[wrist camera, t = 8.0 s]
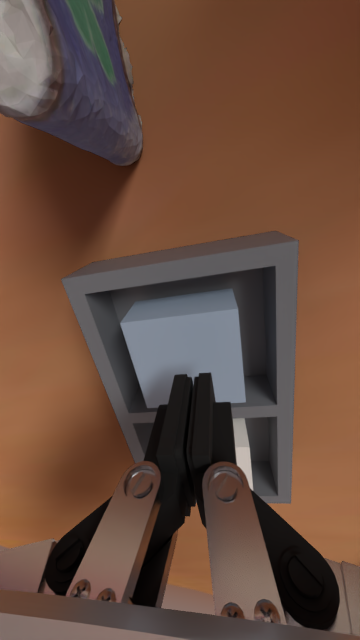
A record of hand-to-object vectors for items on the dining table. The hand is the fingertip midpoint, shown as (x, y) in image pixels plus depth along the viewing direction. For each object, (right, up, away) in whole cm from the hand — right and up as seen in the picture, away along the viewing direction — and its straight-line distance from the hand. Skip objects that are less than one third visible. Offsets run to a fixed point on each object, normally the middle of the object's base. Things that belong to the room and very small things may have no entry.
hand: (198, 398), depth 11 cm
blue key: (0, +3, +5) cm, 5 cm away
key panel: (+1, -1, +9) cm, 9 cm away
